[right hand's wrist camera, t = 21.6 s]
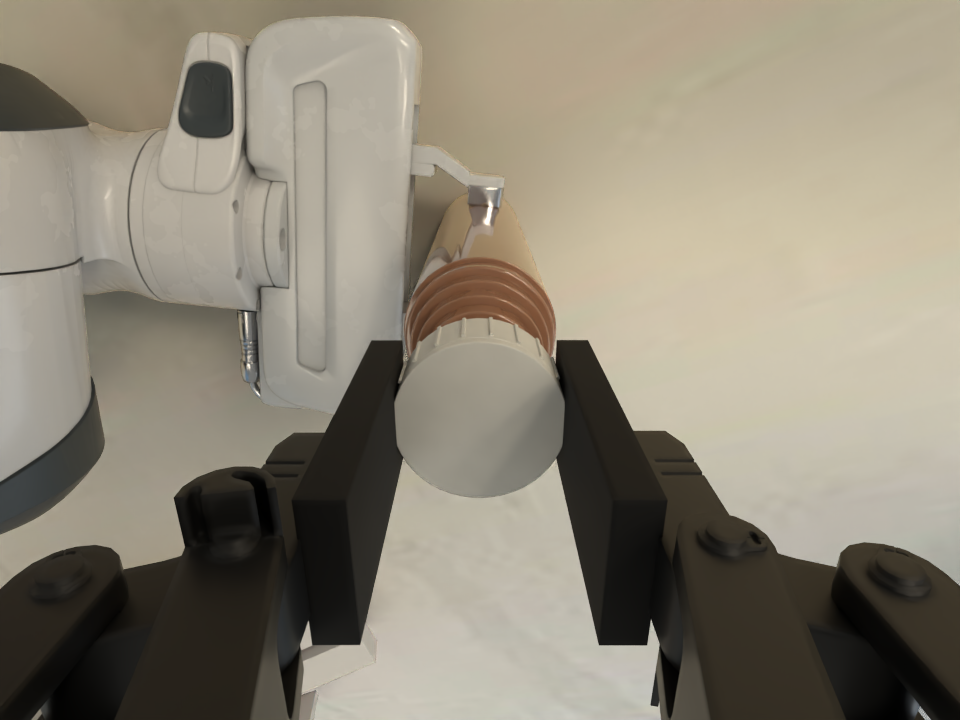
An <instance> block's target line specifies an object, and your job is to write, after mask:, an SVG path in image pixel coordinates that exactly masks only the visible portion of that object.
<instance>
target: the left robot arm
mask: <svg viewBox="0 0 960 720" xmlns="http://www.w3.org/2000/svg"><path fill="white" fill-rule="evenodd" d="M422 54H423V52H422V46H421V44H420V43H419V41H418V39H417V38H416V36H415V35H414V34H413V32H412V31H411V30H410V29H409V28H408V27H407V26H406V25H405V24H404V23H402V22H400V21H398V20H395V19H389V18H380V17H366V16H316V17H302V18H292V19H286V20H281V21H278V22H275V23H273V24H271V25H269V26H267V27H265V28H264V29H262V30H261V31H260V32H259V33H258V34H257V35H256V36H255V38H254V39H253V40H252V39H250V38H246V37H243V36H240V35H236V34H230V33H224V32H199V33H196V34H195V35H193V36H192V37H191V39H190V41H189V43H188V45H187V48H186V52H185V56H184V60H183V65H182V70H181V74H180V79H179V84H178V88H177V92H176V97H175V101H174V105H173V109H172V113H171V117H170V121H169V125H168V128H154V129H149V130H144V131H138V132H123V131H118V130H113V129H110V128H108V127H105V126H103V125H101V124H98V123H96V122H93V121H89V120H86V119H85V117H84V116H83V115H82V114H81V113H80V112H79V111H77V110H76V109H75V108H74V107H73V106H72V105H71V104H69V103H68V102H67V101H66V100H65V99H63V98H62V97H61V96H59V95H58V94H57V93H56V92H54V91H53V90H52V89H50V88H49V87H48V86H46V85H45V84H44V83H42V82H41V81H40V80H39V79H37V78H36V77H35V76H33V75H31V74H29V73H27V72H25V71H23V70H21V69H18V68H15V67H12V66H9V65H5V64H1V63H0V534H2V533H5V532H8V531H10V530H12V529H15V528H17V527H19V526H21V525H24V524H26V523H28V522H30V521H32V520H34V519H35V518H37V517H39V516H41V515H42V514H44V513H45V512H47V511H48V510H50V509H51V508H52V507H54V506H55V505H56V504H57V503H59V502H60V501H61V500H62V499H64V498H65V497H66V496H67V495H68V494H69V493H70V492H71V491H72V490H73V489H74V488H75V487H76V486H77V485H78V484H79V483H80V481H81V480H82V479H83V478H84V477H85V476H86V475H87V474H88V472H89V471H90V470H91V469H92V467H93V466H94V465H95V464H96V462H97V461H98V459H99V458H100V456H101V454H102V452H103V449H104V444H105V439H104V434H103V428H102V423H101V418H100V412H99V407H98V401H97V396H96V390H95V385H94V382H93V379H92V377H91V375H90V365H89V354H88V342H87V330H86V319H85V307H84V296H83V294H100V293H106V292H111V291H129V292H134V293H138V294H140V295H143V296H145V297H148V298H150V299H153V300H157V301H161V302H167V303H176V304H187V305H197V306H208V307H217V308H228V309H237V317H238V331H239V339H240V343H241V351H242V359H241V362H240V368H241V375H242V378H243V381H244V382H247V383H249V385H250V387H251V389H252V391H253V392H254V394H255V395H256V396H257V397H258V398H259V399H261V401H262V402H263V403H264V404H266V405H269V406H273V407H283V408H294V409H299V408H307V409H311V410H315V411H319V412H323V413H327V414H332V415H334V414H335V412H336V410H337V408H338V406H339V404H340V402H341V400H342V398H343V396H344V394H345V392H346V390H347V388H348V386H349V384H350V382H351V380H352V378H353V376H354V374H355V372H356V370H357V368H358V366H359V364H360V362H361V360H362V358H363V356H364V354H365V352H366V350H367V348H368V346H369V344H370V342H371V340H402V342H403V361H404V362H405V339H404V319H405V314H406V310H407V307H408V304H409V302H408V293H409V276H410V259H411V242H412V225H413V208H414V191H415V175H417V176H428V177H432V176H433V175H434V174H435V173H436V172H437V166H438V167H440V168H441V169H442V170H444V171H445V172H446V173H448V174H449V175H451V176H452V177H453V178H455V179H456V180H457V181H459V182H460V183H462V184H463V185H464V186H466V187H467V188H468V201H467V205H476V206H481V205H483V204H484V203H485V204H486V205H487V206H490V207H495V208H500V207H502V199H503V192H504V183H505V177H504V176H500V175H494V174H484V173H475V172H470V169H469V168H468V167H466V166H465V165H464V164H462V163H461V162H460V161H458V160H457V159H456V158H454V157H453V156H452V155H450V154H449V153H448V152H446V151H445V150H444V149H442V148H441V147H440V146H433V145H424V144H417V140H418V123H419V106H420V89H421V72H422ZM468 185H469V187H468ZM258 381H260V388H259V387H258V385H257V382H258Z"/></svg>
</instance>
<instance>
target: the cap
mask: <svg viewBox="0 0 960 720" xmlns="http://www.w3.org/2000/svg"><path fill="white" fill-rule="evenodd" d="M559 379H560V377H559V374H558V371H557V367H556V364H555V361H554V358H553V357H551V358H550V356H549V354H548V353H547V352H546V350H545V349H544V347H543V346H542V345H541V344H540V341H539V339H538V338H536V339H535V338H534V337H532V336H531V335H530V334H529V333H527V332H526V331H524V330H522V329H521V328H519V327H518V325H517V324H514V325H512V324H510V323H507V322H503V321H500V320H495V319H493V317H489V319H488V318H473V319H466V318H462V320H460V321H456V322H453V323H450V324H447V325H445V326H443V327H441V326H439V327H437V330H436V331H434V332H433V333H431V334H430V335H428V336H427V337H426V338H425V339H424V340H423V341H422V342H421V341H419V342H418V343H417V346H416V348H415V350H414V351H413V353H412V354H411V356H410V357H409V359H408V361H405V362H404V364H403V367H402V371H401V374H400V377H399V380H398V383H399V388H398V391H397V394H396V397H395V401H394V405H395V422H396V439H397V447H398V449H399V451H400V453H401V455H402V456H403V458H404V459H405V461H406V462H407V464H408V465H409V466H410V467H411V468H412V470H413V471H414V472H415V473H416V474H418V475H419V476H420V477H421V478H422V479H424V480H425V481H426V482H428V483H429V484H431V485H433V486H435V487H437V488H438V489H441V490H443V491H446V492H448V493H451V494H455V495H459V496H465V497H474V498H485V497H495V496H500V495H505V494H508V493H511V492H514V491H517V490H519V489H521V488H523V487H525V486H527V485H528V484H530V483H532V482H533V481H535V480H536V479H537V478H539V477H540V476H541V475H542V474H543V473H544V472H545V471H546V470H547V469H548V468H549V467H550V466H551V464H552V463H553V462H554V461H555V459H556V457H557V456H558V454H559V452H560V450H561V448H562V444H563V427H564V411H565V399H564V395H563V392H562V389H561V386H560V382H559Z"/></svg>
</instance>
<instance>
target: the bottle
mask: <svg viewBox="0 0 960 720" xmlns="http://www.w3.org/2000/svg"><path fill="white" fill-rule="evenodd" d="M467 201H468V193H466V194H464V195H462V196H460V197H458V198H457V199H456V200H454V201H453V202H452V203H451V205H450V206H449V207H448V209H447V210H446V212H445V214H444V217H443V219H442V222H441V224H440V227H439V229H438V232H437V234H436V237H435V239H434V242H433V244H432V247H431V249H430V252H429V254H428V257H427V259H426V262H425V264H424V267H423V269H422V272H421V274H420V277H419V279H418V282H417V284H416V287H415V289H414V292H413V294H412V297H411V299H410V302H409V304H408V307H407V310H406V314H405V319H404V339H405V345H406V350H407V355H408V358H409V357H410V356H411V354H412V353H413V351H414V350H415V348H416V346H417V343H418V342H419V341H421V342H422V341H423V340H424V339H425V338H426V337H427V336H428V335H430V334H431V333H433V332H434V331H436V330H437V327H439V326H441V327H443V326H445V325H447V324H450V323H453V322H456V321H460V320H462V318H466V319H473V318H488V319H489V317H493V319H495V320H500V321H503V322H507V323H510V324H512V325H514V324H517V325H518V327H519V328H521V329H522V330H524V331H526V332H527V333H529V334H530V335H531V336H532V337H534V338H535V339H536V338H538V339H539V341H540V344H541V345H542V346H543V347H544V349H545V350H546V352H547V353H548V354H549V356H550V358H551V357H552V354H553V349H554V343H555V338H556V322H555V315H554V311H553V308H552V305H551V302H550V300H549V297H548V295H547V292H546V290H545V287H544V285H543V282H542V280H541V277H540V275H539V272H538V270H537V267H536V265H535V262H534V260H533V257H532V255H531V252H530V250H529V247H528V244H527V242H526V239H525V237H524V234H523V232H522V229H521V227H520V224H519V222H518V219H517V217H516V214H515V212H514V210H513V209H512V207H511V206H510V205H509V204H508V203H507V201H505V200H504V199H502V207H500V208H495V207H490V206H487V205H486V204H485V203H484V204H483V205H481V206H476V205H467Z"/></svg>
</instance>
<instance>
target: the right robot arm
mask: <svg viewBox="0 0 960 720" xmlns="http://www.w3.org/2000/svg"><path fill="white" fill-rule="evenodd" d="M403 364H404V361H403V342H402V340H371V342H370V344H369V346H368V348H367V350H366V352H365V354H364V356H363V358H362V360H361V362H360V364H359V366H358V368H357V370H356V372H355V374H354V376H353V378H352V380H351V382H350V384H349V386H348V388H347V390H346V392H345V394H344V396H343V398H342V400H341V402H340V404H339V406H338V408H337V410H336V412H335V414H334V416H333V418H332V420H331V422H330V424H329V426H328V428H327V430H326V432H325V433H293V434H292V435H290V436H289V437H288V438H286V439H285V440H283V441H282V442H280V443H279V444H278V445H276V446H275V448H274V449H273V451H272V452H271V454H270V455H269V457H268V459H267V460H266V464H264V465H263V466H262V468H261V469H259V468H255V467H230V468H225V469H220V470H215V471H213V472H210V473H207V474H205V475H202V476H200V477H197V478H196V479H194V480H193V481H191V482H190V483H188V484H186V485H185V486H183V487H182V488H181V490H180V491H179V492H178V493H177V494H176V496H175V497H174V501H175V505H176V510H177V514H178V518H179V523H180V527H181V531H182V535H183V540H184V544H185V549H184V551H183V554H182V556H180V557H176V558H173V559H169V560H166V561H162V562H157V563H152V564H148V565H143V566H138V567H134V568H129V569H124V570H123V567H122V564H121V560H120V557H119V555H118V554H117V553H116V552H115V551H113V550H112V549H111V548H108V547H103V546H98V545H91V546H80V547H74V548H70V549H66V550H62V551H59V552H56V553H53V554H51V555H49V556H47V557H45V558H43V559H41V560H39V561H37V562H34V563H32V564H31V565H30V566H28V567H27V568H25V569H24V570H23V571H21V572H20V573H18V574H17V575H16V576H14V577H13V578H12V579H11V580H10V581H9V582H8V583H7V584H5V585H4V586H3V587H2V588H1V589H0V720H32V718H33V717H34V716H35V715H36V713H37V712H38V711H39V710H40V709H41V712H42V714H41V715H40V717H39V718H38V719H37V720H299V714H300V704H301V694H302V684H303V674H304V667H303V660H302V653H301V647H300V644H301V641H302V638H303V635H304V632H305V629H306V626H307V623H308V621H309V626H310V633H311V640H312V645H360V644H361V640H362V636H363V631H364V627H365V622H366V618H367V614H368V609H369V605H370V601H371V596H372V592H373V587H374V583H375V579H376V574H377V570H378V566H379V561H380V557H381V552H382V548H383V544H384V539H385V535H386V531H387V526H388V522H389V517H390V513H391V509H392V504H393V500H394V495H395V491H396V487H397V482H398V478H399V474H400V469H401V465H402V460H403V456H402V455H401V453H400V451H399V449H398V447H397V439H396V422H395V405H394V401H395V397H396V394H397V391H398V388H399V383H398V380H399V377H400V374H401V371H402V367H403ZM556 367H557V371H558V374H559V377H560V379H559V382H560V386H561V389H562V392H563V395H564V399H565V411H564V427H563V444H562V448H561V450H560V452H559V454H558V456H557V457H556V459H557V463H558V468H559V472H560V477H561V481H562V485H563V490H564V494H565V498H566V503H567V507H568V512H569V516H570V520H571V525H572V529H573V533H574V538H575V542H576V547H577V551H578V555H579V560H580V564H581V569H582V573H583V577H584V582H585V586H586V590H587V595H588V599H589V604H590V608H591V612H592V617H593V621H594V626H595V630H596V634H597V639H598V643H599V645H647V642H648V635H649V628H650V621H651V620H652V623H653V626H654V628H655V631H656V634H657V637H658V640H659V643H660V647H659V653H658V660H657V666H656V673H655V679H654V686H653V692H652V699H651V706H657V707H658V705H659V703H660V713H661V720H925V719H924V718H923V717H922V716H921V714H920V713H919V712H918V709H919V707H920V706H921V708H922V709H923V710H924V711H925V713H926V714H927V715H928V716H929V718H930V719H931V720H960V586H959V585H958V584H957V583H956V582H954V581H953V580H952V579H951V578H950V577H949V576H948V575H947V574H945V573H944V572H943V571H941V570H940V569H938V568H937V567H936V566H934V565H933V564H932V563H930V562H929V561H927V560H925V559H923V558H921V557H919V556H917V555H914V554H912V553H910V552H908V551H906V550H903V549H900V548H895V547H894V546H889V545H885V544H876V543H865V542H864V543H859V544H854V545H849V546H848V547H847V548H846V549H845V550H843V551H842V552H841V554H840V557H839V561H838V564H837V567H833V566H828V565H824V564H819V563H814V562H810V561H805V560H800V559H796V558H792V557H788V556H785V555H781V554H778V553H777V550H776V548H775V546H774V545H773V543H772V542H771V540H770V539H769V538H768V536H767V535H766V534H765V533H764V532H762V531H761V530H759V529H758V528H757V527H755V526H754V525H753V524H751V523H748V522H746V521H744V520H742V519H739V518H737V517H735V516H730V515H729V514H728V512H727V511H726V509H725V507H724V506H723V504H722V503H721V501H720V500H719V498H718V496H717V495H716V493H715V492H714V490H713V489H712V487H711V486H710V484H709V482H708V481H707V479H706V478H705V476H704V475H702V471H701V470H700V468H699V467H698V465H697V464H696V462H694V459H693V457H692V456H691V454H690V453H689V451H688V450H687V448H686V446H685V445H684V444H683V443H682V442H680V441H679V440H677V439H676V438H675V437H673V436H672V435H670V434H669V433H667V432H666V431H633V430H632V428H631V426H630V424H629V422H628V420H627V418H626V416H625V414H624V412H623V410H622V408H621V406H620V404H619V402H618V400H617V398H616V396H615V394H614V392H613V390H612V388H611V386H610V384H609V382H608V380H607V378H606V376H605V374H604V372H603V370H602V368H601V366H600V364H599V362H598V360H597V358H596V356H595V354H594V352H593V350H592V348H591V346H590V344H589V342H588V340H557V348H556Z"/></svg>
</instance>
